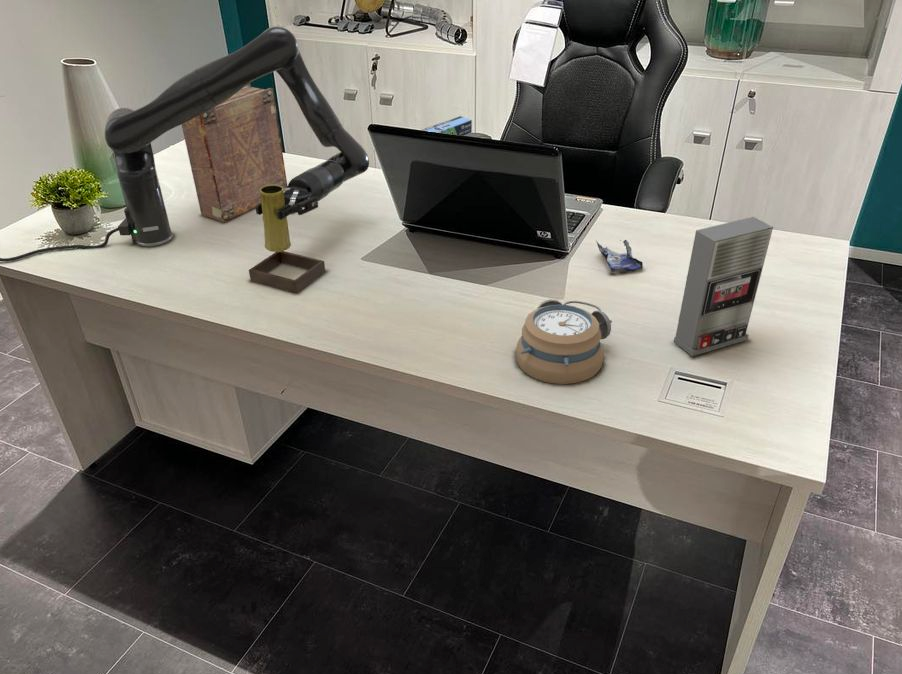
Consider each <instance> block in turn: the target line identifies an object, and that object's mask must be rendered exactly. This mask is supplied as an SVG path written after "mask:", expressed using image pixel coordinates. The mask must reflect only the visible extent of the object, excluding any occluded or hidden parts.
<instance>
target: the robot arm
mask: <svg viewBox="0 0 902 674" xmlns="http://www.w3.org/2000/svg"><path fill="white" fill-rule="evenodd" d="M273 72H276V73H277V74H278V75H279V77H280V78H281V79H282V80H283V82H284V83H285V85H286V86H287V88H288V89H289V91H290V93H291V94H292V96H293V97H294V99H295V101H296V103H297V105H298V106H299V109H300V110H301V112H302V115H303V116H304V118H305V120H306V122H307V123H308V125H309V127H310V128H311V130H312V132H313V134H314V135H315V137H316V138H317V140H318V142H319V143H320V144H321V146H322V147H324V148H336V149H337V150H338V151H339V152H337V153H336V154H333V155H332V156H331V157H329V158H328V159H326V160H325V161H323V162H321V163H319V164H318V165H316V166H314V167H311V168H309V169H307V170H305V171H304V172H303V171H302V173H300V174H298V175H296V176H295V177H293V178H291V179H290V181H289V182H288V183H287V188H285V189H283V192H284V200H285V206H283V207H282V208H280V209H278V210H277V218H278V219H280V220H282V219H283V218H285V217H287V218H288V216H290V215H291V216H293V215H296V214H297V215H298V216H302V215H305V214H307V213H309V212H311V211H313V210H315V209H316V210H317V209H318V208H319V202H320V201H321V200H323V199H324V198H326V197H327V196H328V195H330V193H332V192H334V191H335V190H337V189H338V188H339V187H341V186H342V184H343V183H345V182H347V181H349V180H351V179H353V178H355V177H358V176H360V175H363V174H364V173H365V172H367V170H368V169H369V166H370V159H369V156H368V153H367V151H366V150H365V148H364V147H363V146H362V145H361V144H360V142H358V141H357V140H356V139H355V138H354V137H353V136H352V135H351V134H350V133H349V132H348V131H347V130H346V129H345V128H344V126H343V124H342V123H341V121H340V119H339V117H338V116H337V114H336V113H335V111H334V109H333V108H332V106H331V104H330V103H329V101H328V99H326V97H325V96H324V94H323V93H322V92H321V90H320V88H319V87H318V85H317V84H316V82H315V80H314V79H313V77H312V75H311V74H310V71H309V70H308V67H307V66H306V64H305V61H304V59H303V56H302V55H301V51H300V49H299V43H298V40H297V37H296V36H295V35H294V34H293V33H292V32H291V31H290V30H289V29H288V28H286V27H284V26H279V25H277V26H276V25H275V26H271V27H268V28H267V29H265V30H264V31H263V32H262V33H261V34H259V35H258V36H257V37H255V38H254V39H252V40H251V41H249V42H248V43H247V44H245V45H244V46H242V47H240V48H239V49H237V50H236V51H233V52H232V53H230V54H227V55H224V56H221V57H218V58H217V59H215V60H211V61H209V62H207V63H205V64H203V65H201V66H198V67H197V68H195V69H193V70H191V71H190V72H187V73H186V74H184V75H183V76H181V77H179V78H178V79H176V80H175V81H174V82H173V83H172V84H170V85H169V86H168V87H167V88H165V90H163V92H161V93H160V94H159V95H158V96H157V97H156V98H155V99H153V100H152V101H150V102H149V103H147V104H145V105H144V106H142V107H140V108H137V109H132V108H130V107H129V108H128V107H119V108H116V109H114V110H113V111H112V112H110V113H109V115H108V116H107V119H106V121H105V127H104V131H103V132H104V140H105V143H106V145H107V146H108V148H110V150H112V154H113V158H114V164H115V171H116V175H117V179H118V181H119V182H118V183H119V186H120V189H121V192H122V197H123V200H124V203H125V208H124V209H123V212H124V216H125V218H124V219H123V220H122V221H121V222H120V224H118V226H117V227H115V228H114V229H111V230H110V231H109V232H107V233H106V234H105V235H106V236H105V239H104V242H103V243H100V244H98V245H88V244H87V245H86V244H70V245H60V246H58V245H57V246H52V247H51V246H50V247H45V248H40V249H39V248H38V249H35V250H32V251H29V252H26V253H23V254H20V255H16V256H13V257H7V258H6V257H5V258H4V257H0V262H5V263H6V262H14V261H17V260H21V259H24V258H28V257H30V256H33V255H36V254H39V253H40V254H41V253H44V252H50V251H57V250H58V251H59V250H68V249H87V250H88V249H101V248H104V247H105V246H107V245H108V243H109V241H110V237H111V236H112V235H113V234H114V233H116V232H119V235H120V236H130V237H131V241H132V244H133V245H138V246H139V247H155V246H157V247H158V246H161V245H164V244H166V243H168V242H170V241H171V240H172V239H173V236H174V235H173V232H172V228H171V225H170V220H169V217H168V212H167V208H166V205H165V199H164V196H163V193H162V188H161V184H160V180H159V176H158V172H157V168H156V162H155V161H156V160H155V156H154V151H153V147H152V142H154V141H155V140H156V139H158V138H160V137H161V136H162V135H164V134H166V133H168V131H171V130H172V129H174V128H177V127H178V126H182V124H183V123H185V122H187V121H189V120H191V119H193V118H195V117H197V116H199V115H201V114H203V113H205V112H207V111H209V110H211V109H212V108H214V107H216V106H218V105H220V104H221V103H223V102H224V101H226V100H228V99H229V98H230V97H232V96H233V95H235V94H236V93H237V92H239V91H240V90H241V89H242V88H244V87H245V86H246V85H248V84H251V83H252V82H254V81H255V80H258V79H260V78H263V77H265V76H267V75H268V74H272V73H273ZM260 200H261V195H260ZM254 209H255V214H256V215H257V216H258V215H259V216H260V215H263V214H262V205H261V203H259V204H257V205H256V206H255V208H254Z"/></svg>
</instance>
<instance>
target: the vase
mask: <svg viewBox="0 0 902 674" xmlns="http://www.w3.org/2000/svg"><path fill="white" fill-rule="evenodd" d="M260 195H261V205H262V214H261V215H262V223H263V234H264V249H266V251H269V252H273V253H275V252H281V251H285V252H286V251H287V250H289V249H291V247H292V243H291V239H290V231H289V222H288V216H287V217H285V218H283V219H282V220H280V219H278V218H277V210H278V209H280V208H282V207H283V206H285V200H284V192H283V187H282V186H280V185H266V186H263V187H261V188H260Z"/></svg>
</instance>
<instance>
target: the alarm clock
mask: <svg viewBox="0 0 902 674" xmlns="http://www.w3.org/2000/svg"><path fill="white" fill-rule="evenodd" d="M570 304H581V305H586V306H589V307H593V308H594V309H597V310H594V311H593V312H591V313H590V312H589V311H587V310H585V309H583V308H580V307H577V306H574V305H570ZM612 323H613V320H612V319H610V318H609V316H608V315H607V314H606V313H605V312H604V311H602V309H601V308H600V307H599V306H598V305H596V304H593V303H589V302H585V301H580V300H568V301H566V302H564V303H562V302H561V301H559V300H558V299H546V300H544V301H542V302H541V303H540V304H539V305H538V307H537V308H536V309H534V310H532V311H531V312H529V314H528V315H527V316H526V317H525V321H524V324H523V325H522V327H521V335H520V337H519V339H518V340H517V343H516V354H515V355H516V358H515V360H516V363H517V365H518V366H519V368H520V369H521V370H522V371H523V372H524V373H525V374H527V375H528V376H530V377H531V378H534V379H536V380H539V381H541V382H546V383H551V384H559V385H568V384H569V385H570V384H577V383H581V382H584V381H587V380H589V379H591V378H592V377H595V375H596V374H598V372H599V371H600V370H601V368H602V366H603V363H604V361H603V360H604V355H605V354H604V347H603V344H602V343H601V340H605V339H607V338H608V337H609V336H610V335H611V332H612Z"/></svg>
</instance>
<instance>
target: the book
mask: <svg viewBox="0 0 902 674" xmlns="http://www.w3.org/2000/svg"><path fill="white" fill-rule="evenodd" d="M275 99H276V98H275V93H274V88H273V87H269V88H266V89H264V88H260V87H254V86H252V85H251V83H249V84H248V85H246V86H245V87H244V88H242V89H241V90H240V91H239V92H237V93H236V94H235V95H233V96H232V97H230V98H229V99H228V100H226V101H224V102H223V103H221V104H220V105H218V106H216V107H214V108H212V109H211V110H209V111H207V112H205V113H203V114H201V115H199V116H197V117H195V118H193V119H191V120H189V121H187V122H185V123H183V124H181V129H182V133H183V138H184V142H185V147H186V152H187V155H188V160H189V165H190V170H191V174H192V178H193V179H192V180H193V183H194V187H195V192H196V197H197V201H198V206H199V210H200V214H201V216H203V217H206V218H209V219H212V220H215V221H217V222H218V221H219V222H221V223H224V224H225V223H227V222H228V221H231V220H233V219H235V218H238V217H240V216H241V215H242V216H243V215H244V214H246V213H248V212H250V211H252V210H254V209H255V206H256V205H257V204H259V203H261V200H260V188H261V187H263V186H266V185H280V186H282V187H283V189H285V188H287V186H288V180H287V173H286V167H285V159H284V153H283V146H282V141H281V140H282V139H281V133H280V126H279V119H278V112H277V106H276V101H275Z"/></svg>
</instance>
